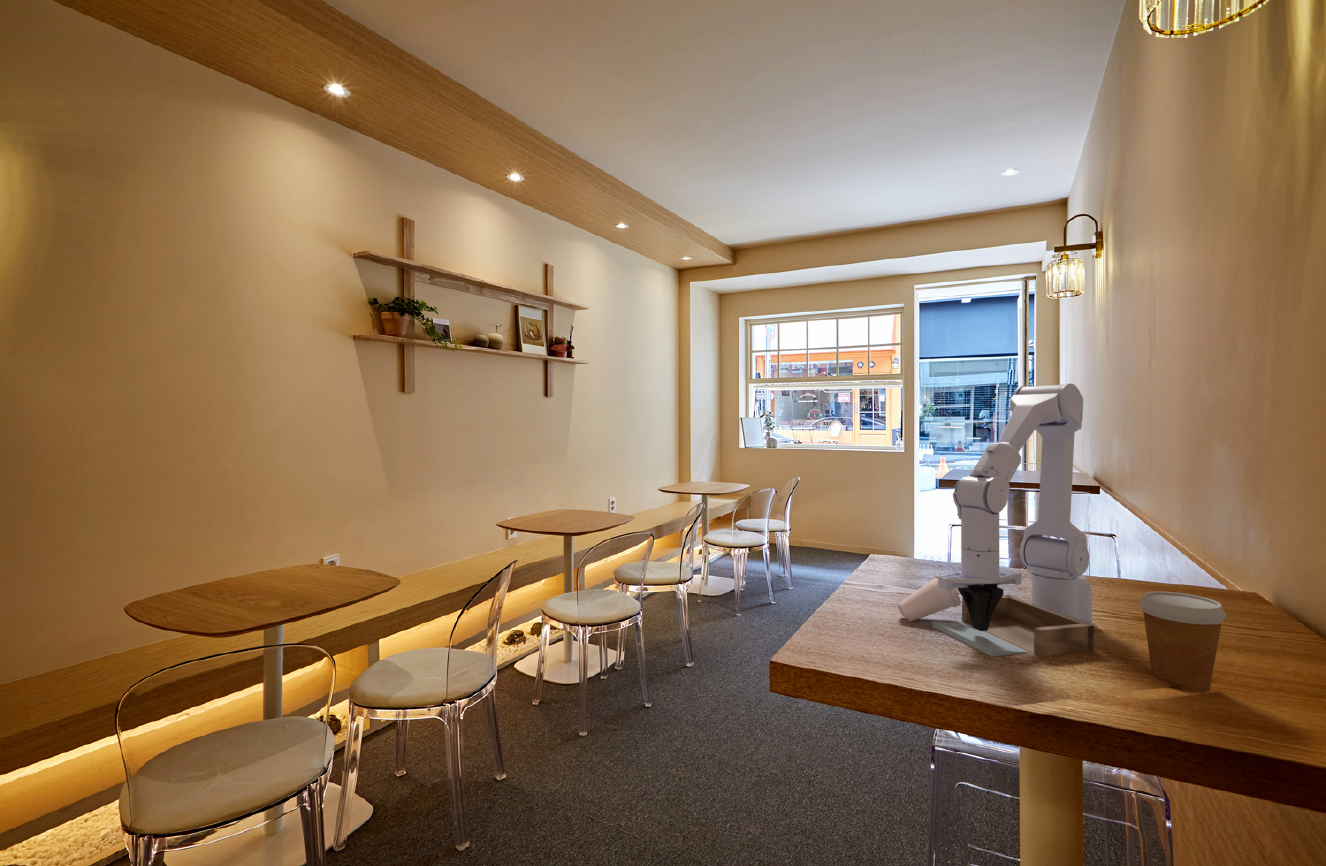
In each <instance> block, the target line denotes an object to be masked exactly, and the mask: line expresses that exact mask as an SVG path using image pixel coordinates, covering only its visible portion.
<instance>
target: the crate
mask: <svg viewBox="0 0 1326 866" xmlns="http://www.w3.org/2000/svg"><path fill="white" fill-rule="evenodd" d="M961 621H962V622H964V623H966V624H969V625H971V626H972V622H971V618H970V615H969V611H968V608H967V606H966V603H965V601H964V599H963V598H961ZM985 632H987V633H989V634H991V635H993V636H995V637H998V638H1000V639H1002V640H1004V641H1006V642H1009V643H1011V644H1013V645H1015V646H1017V647H1020V648H1022V649H1024V650H1026V651H1028V652H1030V653H1032V654H1033V655H1036V656H1038V657H1048V656H1055V655H1056V656H1057V655H1066V654H1067V655H1068V654H1075V653H1076V654H1077V653H1085V652H1086V653H1087V652H1094V651H1095V648H1094V647H1095V644H1094V643H1095V642H1094V641H1095V625H1091V624H1088V623H1086V622H1083V621H1080V620H1077V619H1074V618H1072V617H1069V616H1066V615H1063V614H1060V613H1058V612H1055V611H1052V610H1049V609H1046V608H1044V607H1041V606H1038V605H1035V604H1032V603H1031V602H1029V601H1026V600H1023V599H1020V598H1018V597H1016V596H1012V595H1009V594H1008V595H1007V594H1006V595H1004V594H1003V596H1002V598H1001V599H1000V600H999V602H998V603H997V605H996V607H995V609H994V612H993V614H992V617H991V620H990V624H989V627H988V631H985Z"/></svg>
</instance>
